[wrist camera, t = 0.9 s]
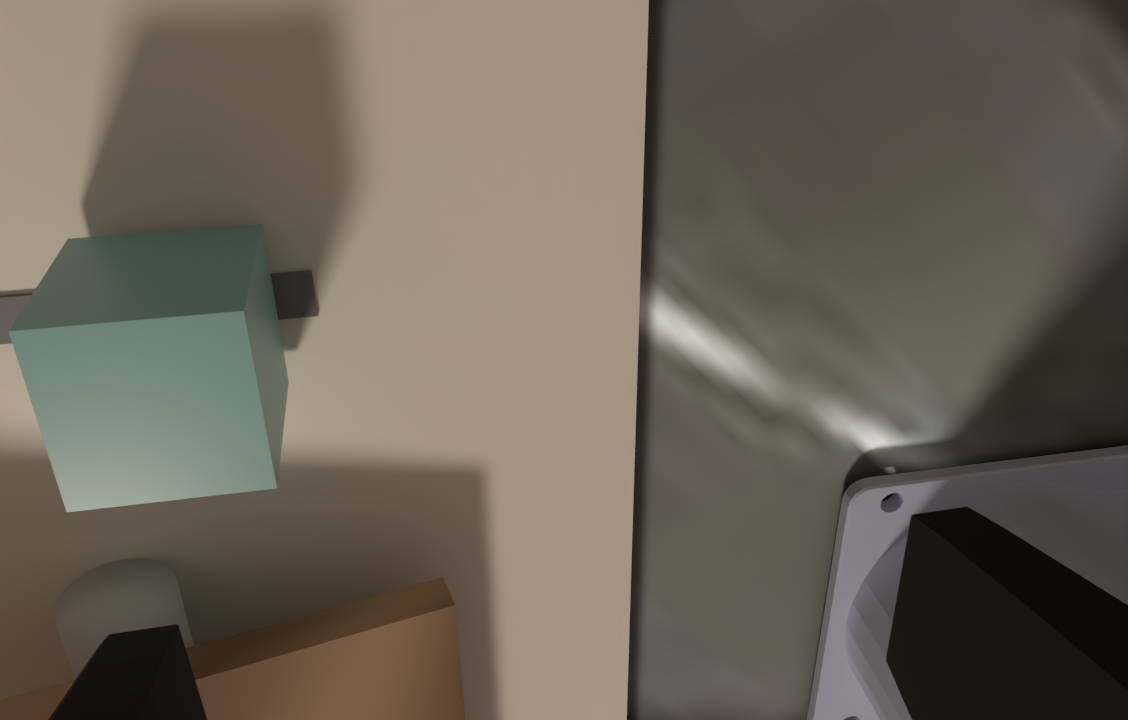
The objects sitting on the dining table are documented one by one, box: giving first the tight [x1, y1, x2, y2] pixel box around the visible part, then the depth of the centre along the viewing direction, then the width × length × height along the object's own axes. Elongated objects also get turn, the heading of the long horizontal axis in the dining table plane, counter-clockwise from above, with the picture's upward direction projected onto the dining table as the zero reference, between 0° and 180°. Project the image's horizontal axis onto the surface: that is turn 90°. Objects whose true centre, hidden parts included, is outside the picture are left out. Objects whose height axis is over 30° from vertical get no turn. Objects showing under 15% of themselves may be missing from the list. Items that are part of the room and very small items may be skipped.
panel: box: [0, 0, 649, 720], centre depth 17 cm, size 16×26×3 cm, turn 1°
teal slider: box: [8, 224, 289, 512], centre depth 14 cm, size 3×3×3 cm
